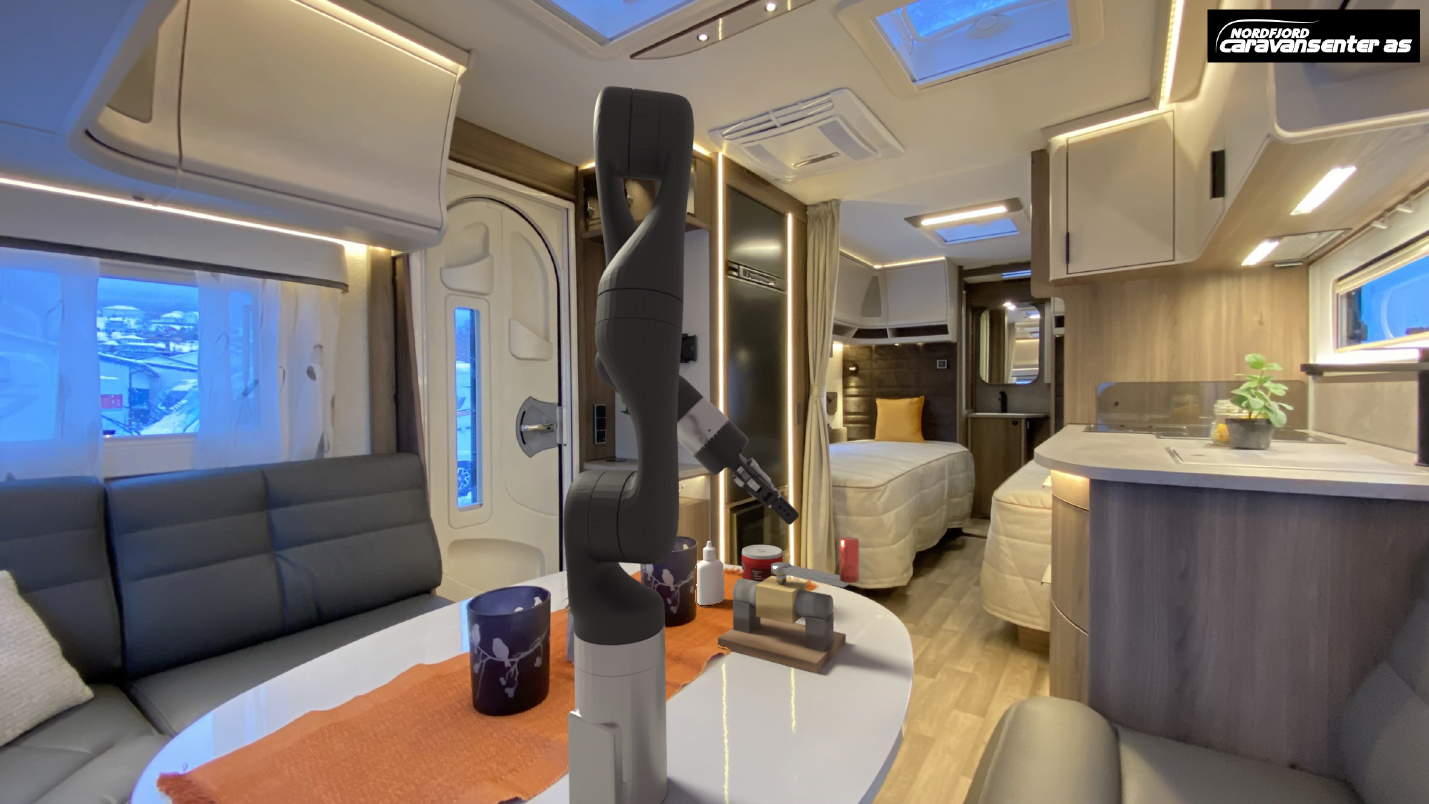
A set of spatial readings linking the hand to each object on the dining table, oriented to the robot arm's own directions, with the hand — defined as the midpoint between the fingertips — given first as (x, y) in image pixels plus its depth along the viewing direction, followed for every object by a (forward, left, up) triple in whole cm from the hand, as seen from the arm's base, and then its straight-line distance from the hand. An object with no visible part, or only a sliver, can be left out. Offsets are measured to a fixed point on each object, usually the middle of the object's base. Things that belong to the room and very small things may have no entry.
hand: (794, 519), depth 86 cm
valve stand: (+7, +6, -22) cm, 24 cm away
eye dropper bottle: (+17, +26, -23) cm, 39 cm away
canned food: (+20, +16, -23) cm, 34 cm away
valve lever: (+6, 0, -12) cm, 14 cm away
